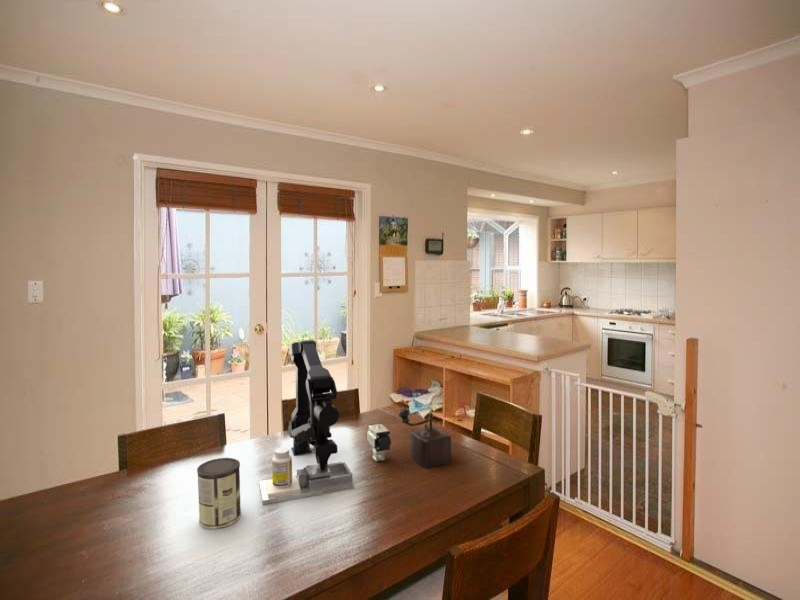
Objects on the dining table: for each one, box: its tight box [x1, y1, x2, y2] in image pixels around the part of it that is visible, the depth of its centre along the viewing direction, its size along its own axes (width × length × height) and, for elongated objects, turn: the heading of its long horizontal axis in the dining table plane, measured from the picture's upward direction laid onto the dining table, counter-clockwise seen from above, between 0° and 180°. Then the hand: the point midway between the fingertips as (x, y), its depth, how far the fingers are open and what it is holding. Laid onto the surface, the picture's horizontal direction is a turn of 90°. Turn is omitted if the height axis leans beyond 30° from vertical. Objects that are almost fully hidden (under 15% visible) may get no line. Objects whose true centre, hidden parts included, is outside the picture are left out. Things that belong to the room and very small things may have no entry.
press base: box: [259, 461, 355, 505], centre depth 136 cm, size 12×26×4 cm, turn 111°
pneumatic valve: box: [365, 422, 392, 463], centre depth 156 cm, size 6×12×12 cm, turn 23°
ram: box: [296, 461, 330, 486], centre depth 137 cm, size 7×9×8 cm
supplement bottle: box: [271, 447, 293, 488], centre depth 133 cm, size 6×6×10 cm
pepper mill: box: [397, 407, 452, 469], centre depth 154 cm, size 16×11×18 cm
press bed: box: [264, 474, 300, 497], centre depth 134 cm, size 9×9×1 cm
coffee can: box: [196, 457, 242, 530], centre depth 119 cm, size 10×10×14 cm
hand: (320, 466), depth 138 cm, fingers open, 4 cm apart
